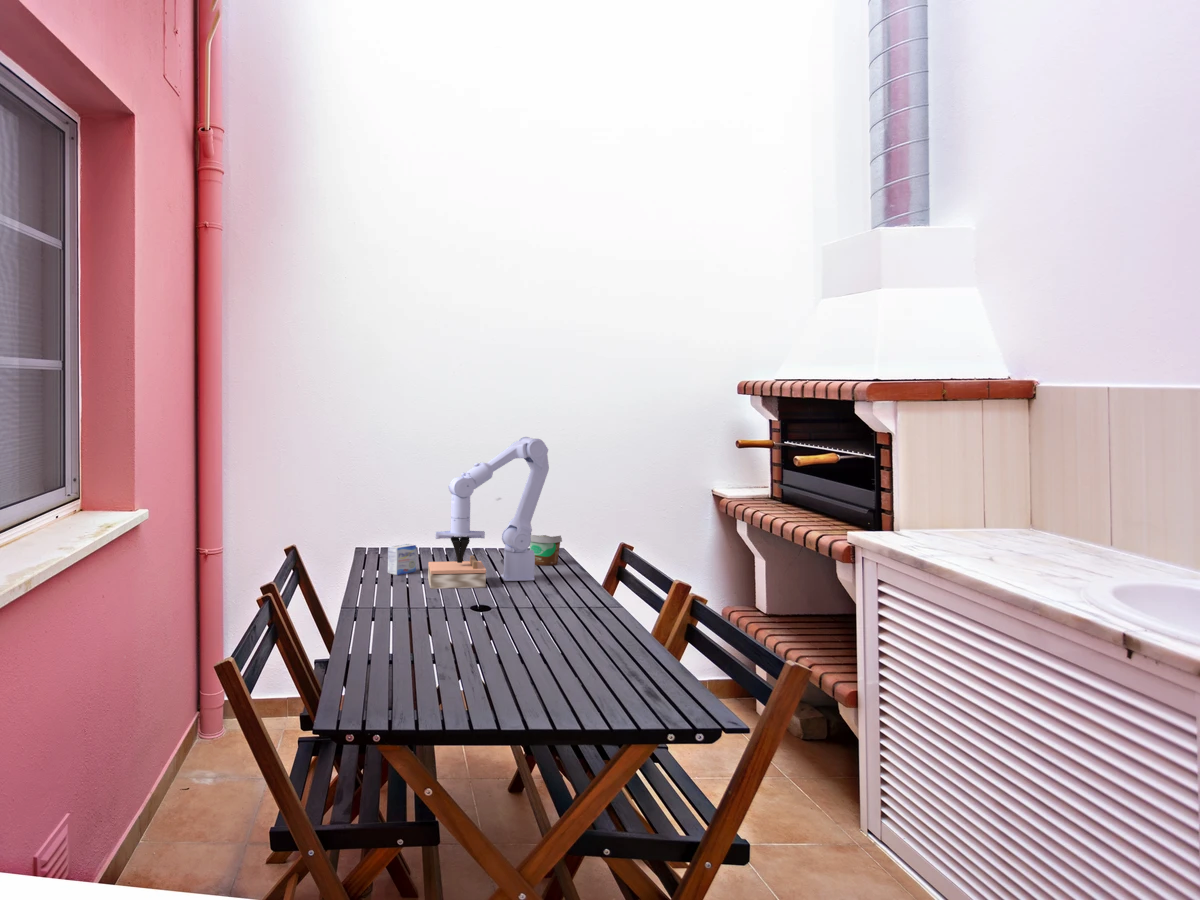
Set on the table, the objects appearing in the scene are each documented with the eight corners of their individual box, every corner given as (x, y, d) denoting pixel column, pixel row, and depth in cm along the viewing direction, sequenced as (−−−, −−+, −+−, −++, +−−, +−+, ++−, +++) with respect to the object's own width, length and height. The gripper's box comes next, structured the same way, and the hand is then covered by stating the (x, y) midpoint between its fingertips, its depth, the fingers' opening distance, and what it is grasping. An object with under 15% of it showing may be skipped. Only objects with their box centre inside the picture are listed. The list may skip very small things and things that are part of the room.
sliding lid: (480, 564, 272) (481, 554, 271) (486, 573, 259) (486, 563, 259) (428, 565, 268) (428, 555, 267) (430, 574, 255) (431, 563, 255)
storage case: (480, 577, 272) (480, 565, 272) (485, 587, 259) (485, 574, 259) (427, 579, 268) (428, 566, 268) (430, 588, 255) (430, 575, 255)
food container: (520, 564, 295) (521, 534, 295) (528, 561, 301) (529, 532, 300) (553, 568, 291) (554, 538, 290) (561, 564, 296) (562, 535, 296)
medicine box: (396, 575, 271) (397, 548, 271) (387, 573, 274) (387, 546, 273) (416, 572, 278) (416, 545, 277) (406, 569, 280) (407, 543, 280)
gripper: (483, 515, 269) (482, 559, 270) (434, 515, 265) (434, 560, 266) (486, 518, 262) (485, 563, 263) (436, 519, 258) (435, 564, 259)
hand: (459, 562), depth 264 cm, fingers closed
